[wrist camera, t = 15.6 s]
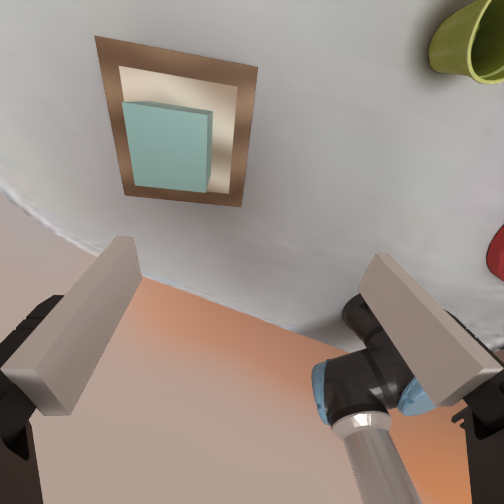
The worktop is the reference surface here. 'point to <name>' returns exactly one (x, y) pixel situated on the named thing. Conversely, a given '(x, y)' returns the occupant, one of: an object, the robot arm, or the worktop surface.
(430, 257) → the worktop surface
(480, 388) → the robot arm
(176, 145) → the teal cube
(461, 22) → the plant pot
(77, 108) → the worktop surface
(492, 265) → the stand mixer
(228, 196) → the walnut block
